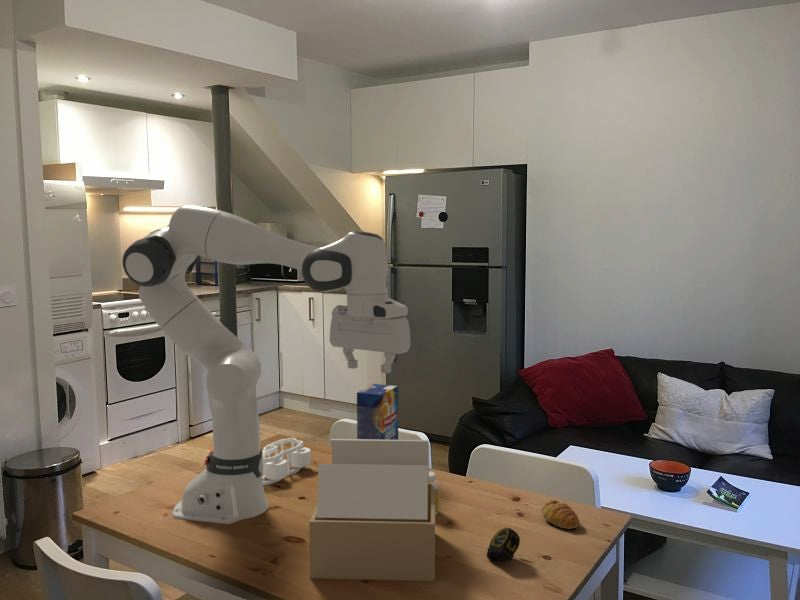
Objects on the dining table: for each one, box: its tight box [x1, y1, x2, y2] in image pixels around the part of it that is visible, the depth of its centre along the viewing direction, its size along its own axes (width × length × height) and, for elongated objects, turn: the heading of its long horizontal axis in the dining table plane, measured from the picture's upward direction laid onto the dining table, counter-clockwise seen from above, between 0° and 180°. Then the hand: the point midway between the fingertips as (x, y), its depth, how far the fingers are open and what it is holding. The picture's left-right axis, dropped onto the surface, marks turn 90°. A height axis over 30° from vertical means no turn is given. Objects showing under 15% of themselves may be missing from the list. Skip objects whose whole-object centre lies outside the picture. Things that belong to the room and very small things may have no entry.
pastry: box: [540, 499, 581, 530], centre depth 158 cm, size 9×7×4 cm
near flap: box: [316, 463, 428, 520], centre depth 132 cm, size 21×10×1 cm
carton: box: [308, 482, 436, 583], centre depth 142 cm, size 24×22×12 cm
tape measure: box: [486, 527, 521, 562], centre depth 139 cm, size 7×7×4 cm
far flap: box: [330, 438, 430, 481], centre depth 150 cm, size 21×10×1 cm
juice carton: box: [356, 383, 399, 440], centre depth 191 cm, size 12×8×24 cm, turn 159°
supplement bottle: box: [428, 470, 439, 516], centre depth 164 cm, size 5×5×10 cm
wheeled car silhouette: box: [261, 437, 312, 486], centre depth 192 cm, size 20×11×7 cm, turn 152°
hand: (369, 370), depth 148 cm, fingers open, 8 cm apart
